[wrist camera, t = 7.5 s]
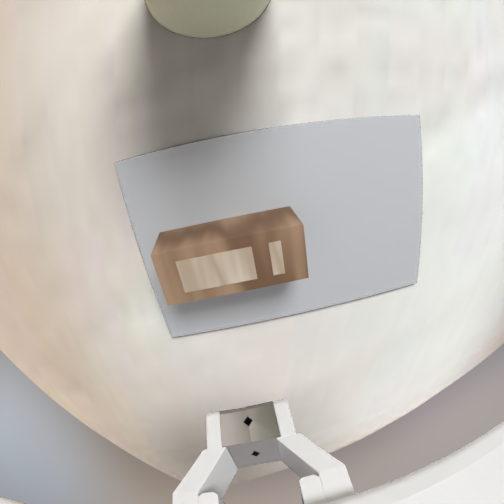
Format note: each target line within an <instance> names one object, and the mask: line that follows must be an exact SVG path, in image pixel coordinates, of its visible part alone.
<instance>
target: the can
mask: <svg viewBox="0 0 504 504" xmlns="http://www.w3.org/2000/svg"><path fill="white" fill-rule="evenodd" d="M269 1H270V0H145V3H146V5H147V8H148V10H149V12H150V13H151V15H152V16H153V17H154V19H155V20H156V21H157V22H158V23H160V24H161V25H162V26H164V27H165V28H167V29H168V30H171V31H173V32H175V33H178V34H181V35H184V36H189V37H197V38H210V37H218V36H223V35H227V34H230V33H233V32H236V31H238V30H240V29H242V28H244V27H246V26H248V25H249V24H250V23H252V22H253V21H254V20H256V19H257V18H258V17H259V16H260V15H261V14H262V13H263V11H264V10H265V8H266V7H267V5H268V3H269Z"/></svg>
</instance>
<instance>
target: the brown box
mask: <svg viewBox="0 0 504 504" xmlns="http://www.w3.org/2000/svg"><path fill="white" fill-rule="evenodd" d="M151 258H152V261H153V264H154V267H155V270H156V273H157V276H158V279H159V282H160V285H161V288H162V291H163V293H164V296H165V299H166V302H167V305H168V306H169V305H175V304H180V303H186V302H191V301H197V300H202V299H207V298H212V297H218V296H223V295H228V294H233V293H238V292H243V291H248V290H253V289H258V288H263V287H268V286H273V285H278V284H282V283H287V282H292V281H296V280H301V279H306V278H309V275H308V265H307V255H306V245H305V236H304V226H303V223H302V222H301V221H300V219H299V218H298V217H297V215H296V214H295V213H294V211H293V210H292V209H291V207H290V206H288V207H282V208H277V209H272V210H266V211H261V212H256V213H251V214H246V215H241V216H236V217H231V218H226V219H221V220H216V221H211V222H206V223H201V224H197V225H192V226H187V227H183V228H178V229H173V230H169V231H164V232H160V233H159V235H158V238H157V240H156V243H155V245H154V248H153V250H152V253H151Z"/></svg>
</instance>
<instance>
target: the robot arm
mask: <svg viewBox="0 0 504 504" xmlns="http://www.w3.org/2000/svg"><path fill="white" fill-rule="evenodd" d="M273 405H274V406H273ZM206 438H207V449H205V450H203V451H202V452H201V454H200V455H199V457H198V458H197V460H196V461H195V463H194V464H193V465H192V467H191V468H190V470H189V471H188V473H187V474H186V476H185V477H184V478H183V480H182V481H181V483H180V484H179V485H178V487H177V488H176V490H175V491H174V493H173V504H225V503H224V502H223V500H222V499H223V497H224V495H225V493H226V491H227V489H228V488H229V486H230V484H231V482H232V480H233V478H234V476H235V474H236V472H237V470H238V469H237V468H240V467H246V466H251V465H256V464H259V463H260V464H262V463H268V462H274V461H279V460H282V461H283V462H284V463H285V464H286V465H287V466H288V467H289V468H290V469H291V470H292V471H293V472H295V473H296V474H297V475H298V476H299V477H300V478H301V480H300V481H299V482H300V489H301V496H302V502H303V504H504V421H503V422H502V423H500V424H499V425H497V426H496V427H494V428H493V429H491V430H490V431H488V432H487V433H485V434H483V435H482V436H480V437H479V438H477V439H475V440H474V441H472V442H470V443H469V444H467V445H465V446H464V447H462V448H460V449H458V450H456V451H454V452H453V453H451V454H449V455H447V456H445V457H443V458H441V459H439V460H437V461H435V462H433V463H431V464H429V465H427V466H425V467H423V468H421V469H419V470H416V471H414V472H412V473H410V474H408V475H405V476H403V477H401V478H398V479H396V480H393V481H391V482H388V483H386V484H383V485H380V486H378V487H375V488H372V489H369V490H367V491H364V492H361V493H358V494H355V492H354V489H353V486H352V484H351V480H350V478H349V475H348V472H347V469H346V467H345V465H344V464H343V463H341V462H340V461H338V460H337V459H335V458H334V457H333V456H331V455H330V454H329V453H327V452H326V451H324V450H323V449H322V448H320V447H319V446H317V445H316V444H315V443H313V442H312V441H311V440H309V439H308V438H307V437H305V436H304V435H303V434H301V433H296V430H295V427H294V423H293V419H292V416H291V412H290V408H289V405H288V401H287V399H282V400H277V401H273V402H272V401H271V402H267V403H262V404H258V405H253V406H248V407H245V408H239V409H232V410H225V411H218V412H211V413H207V414H206ZM0 504H25V503H21V502H18V501H15V500H12V499H9V498H6V497H1V496H0Z"/></svg>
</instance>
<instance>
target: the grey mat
mask: <svg viewBox="0 0 504 504" xmlns="http://www.w3.org/2000/svg"><path fill="white" fill-rule="evenodd" d="M115 167H116V171H117V175H118V178H119V182H120V186H121V189H122V193H123V196H124V200H125V203H126V207H127V210H128V214H129V217H130V220H131V223H132V227H133V230H134V233H135V236H136V239H137V242H138V246H139V249H140V252H141V255H142V258H143V261H144V263H145V266H146V269H147V272H148V275H149V278H150V281H151V283H152V286H153V289H154V292H155V294H156V297H157V300H158V302H159V305H160V308H161V310H162V313H163V315H164V318H165V321H166V323H167V326H168V328H169V331H170V333H171V336H172V337H178V336H184V335H190V334H196V333H202V332H208V331H213V330H219V329H224V328H230V327H235V326H240V325H245V324H251V323H256V322H260V321H265V320H270V319H275V318H280V317H284V316H289V315H293V314H298V313H302V312H307V311H311V310H315V309H320V308H324V307H328V306H332V305H336V304H340V303H344V302H348V301H352V300H356V299H360V298H364V297H368V296H372V295H375V294H379V293H383V292H387V291H390V290H394V289H397V288H401V287H404V286H408V285H411V284H415V283H417V278H418V268H419V257H420V244H421V227H422V195H423V174H422V142H421V126H420V115H396V116H376V117H361V118H348V119H337V120H327V121H318V122H309V123H301V124H294V125H286V126H279V127H273V128H266V129H260V130H254V131H248V132H242V133H237V134H231V135H226V136H221V137H216V138H211V139H206V140H202V141H197V142H193V143H188V144H184V145H179V146H175V147H171V148H167V149H163V150H159V151H155V152H151V153H147V154H144V155H140V156H136V157H133V158H129V159H126V160H122V161H119V162H116V163H115ZM288 206H290V207H291V209H292V210H293V211H294V213H295V214H296V215H297V217H298V218H299V219H300V221H301V222H302V223H303V226H304V236H305V245H306V255H307V265H308V275H309V278H306V279H301V280H296V281H292V282H287V283H282V284H278V285H273V286H268V287H263V288H258V289H253V290H248V291H243V292H238V293H233V294H228V295H223V296H218V297H212V298H207V299H202V300H197V301H191V302H186V303H180V304H175V305H169V306H168V305H167V302H166V299H165V296H164V293H163V291H162V288H161V285H160V282H159V279H158V276H157V273H156V270H155V267H154V264H153V261H152V258H151V253H152V250H153V248H154V245H155V243H156V240H157V238H158V235H159V233H160V232H164V231H169V230H173V229H178V228H183V227H187V226H192V225H197V224H201V223H206V222H211V221H216V220H221V219H226V218H231V217H236V216H241V215H246V214H251V213H256V212H261V211H266V210H272V209H277V208H282V207H288Z"/></svg>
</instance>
